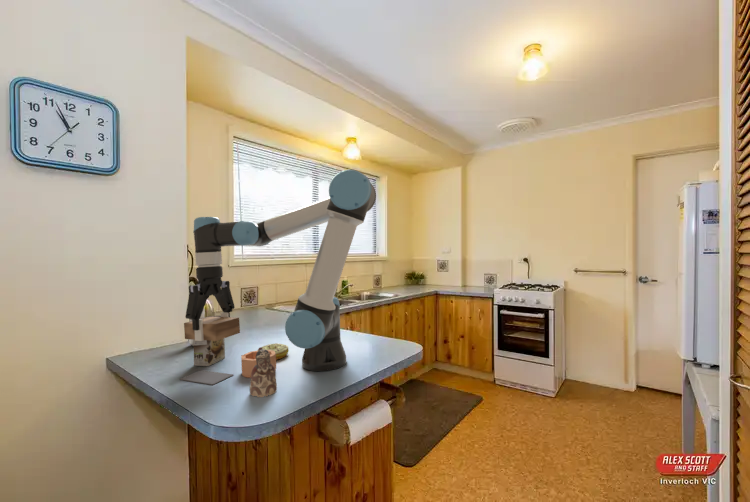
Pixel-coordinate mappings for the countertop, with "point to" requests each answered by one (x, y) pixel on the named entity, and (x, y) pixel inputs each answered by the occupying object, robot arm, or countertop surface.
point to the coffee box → (208, 351)
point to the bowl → (254, 362)
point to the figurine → (263, 375)
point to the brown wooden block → (214, 328)
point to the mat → (206, 377)
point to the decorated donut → (277, 349)
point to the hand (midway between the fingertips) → (213, 336)
